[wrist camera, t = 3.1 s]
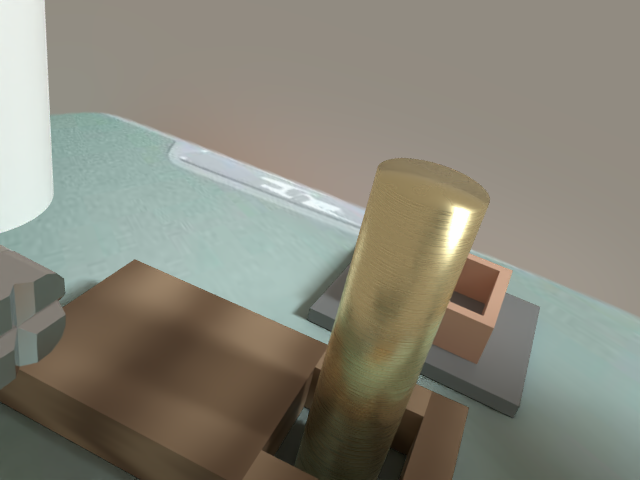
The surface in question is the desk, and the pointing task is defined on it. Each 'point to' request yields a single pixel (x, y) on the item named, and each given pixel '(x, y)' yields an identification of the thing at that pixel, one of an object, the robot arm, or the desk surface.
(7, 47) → the canister
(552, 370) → the desk surface
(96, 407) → the wooden block with recess
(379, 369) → the axle
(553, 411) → the desk surface
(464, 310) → the stand
